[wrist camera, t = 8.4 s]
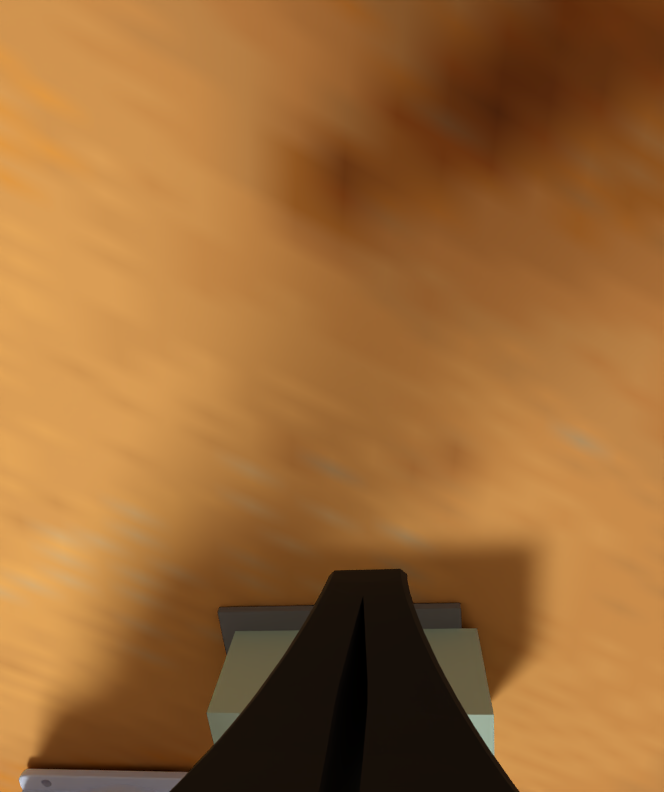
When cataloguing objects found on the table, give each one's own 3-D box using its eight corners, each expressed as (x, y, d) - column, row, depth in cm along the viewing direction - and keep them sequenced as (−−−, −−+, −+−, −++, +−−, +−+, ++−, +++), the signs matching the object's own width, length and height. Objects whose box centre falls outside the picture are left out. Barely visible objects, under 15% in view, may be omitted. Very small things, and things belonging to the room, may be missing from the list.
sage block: (479, 721, 24) (253, 719, 26) (476, 628, 23) (235, 631, 24) (496, 826, 20) (227, 818, 22) (495, 722, 19) (204, 720, 20)
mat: (245, 729, 26) (243, 735, 26) (219, 607, 24) (217, 612, 24) (464, 732, 25) (465, 738, 25) (460, 603, 23) (461, 608, 22)
